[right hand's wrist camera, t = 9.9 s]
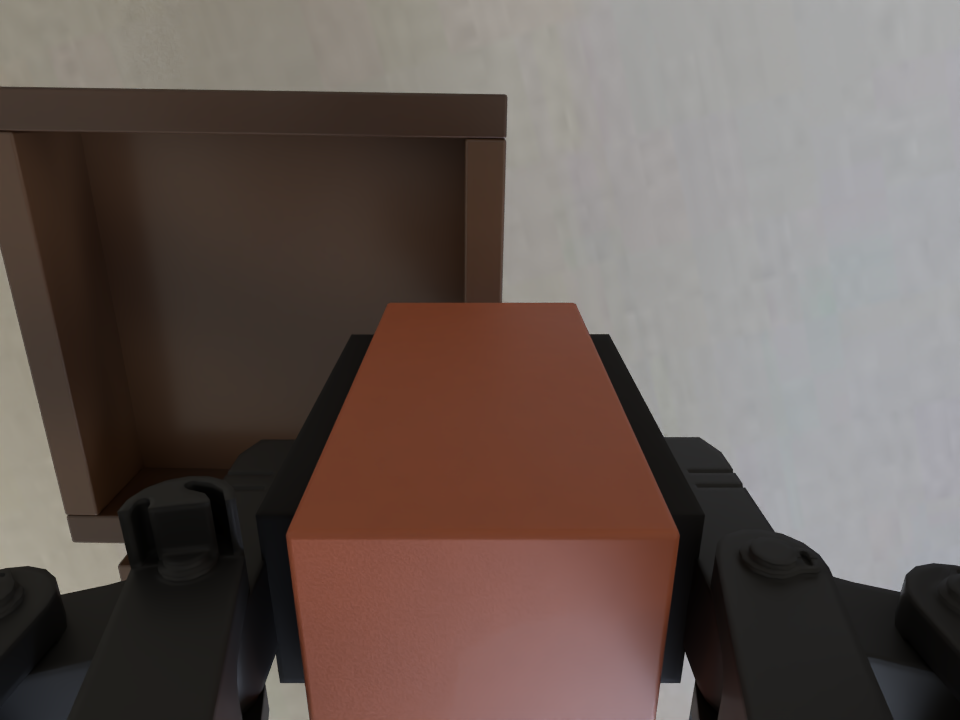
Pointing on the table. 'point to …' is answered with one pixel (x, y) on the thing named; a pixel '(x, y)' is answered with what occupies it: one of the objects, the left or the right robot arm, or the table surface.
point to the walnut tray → (225, 260)
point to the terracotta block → (482, 529)
